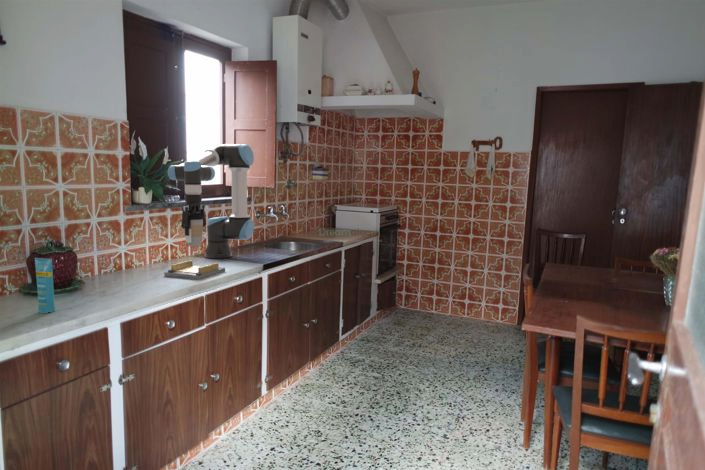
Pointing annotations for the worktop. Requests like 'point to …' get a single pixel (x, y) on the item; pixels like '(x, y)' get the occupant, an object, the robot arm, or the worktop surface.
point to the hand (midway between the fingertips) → (194, 241)
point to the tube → (45, 285)
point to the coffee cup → (196, 229)
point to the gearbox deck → (193, 270)
